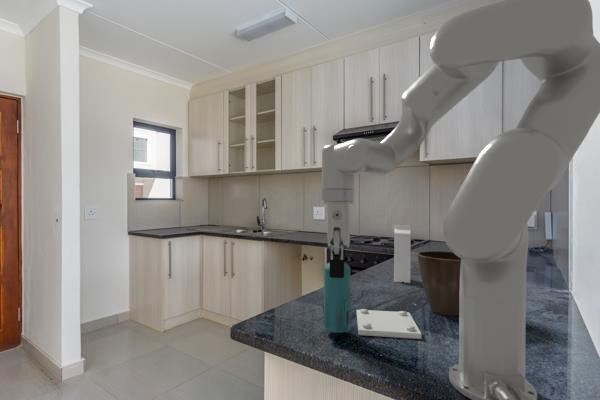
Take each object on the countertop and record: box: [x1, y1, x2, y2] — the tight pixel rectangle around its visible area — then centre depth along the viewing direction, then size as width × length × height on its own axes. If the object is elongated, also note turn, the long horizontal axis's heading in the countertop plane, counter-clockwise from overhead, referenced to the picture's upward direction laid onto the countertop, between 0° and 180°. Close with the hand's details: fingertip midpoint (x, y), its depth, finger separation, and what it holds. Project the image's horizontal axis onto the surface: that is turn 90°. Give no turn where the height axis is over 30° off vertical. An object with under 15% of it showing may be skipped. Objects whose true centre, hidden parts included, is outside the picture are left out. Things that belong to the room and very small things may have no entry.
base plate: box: [356, 308, 422, 340], centre depth 80 cm, size 14×14×2 cm
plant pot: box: [417, 250, 461, 317], centre depth 91 cm, size 15×15×16 cm
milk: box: [393, 223, 412, 284], centre depth 125 cm, size 6×6×22 cm
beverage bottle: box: [323, 248, 352, 334], centre depth 75 cm, size 6×7×20 cm
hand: (337, 273), depth 75 cm, fingers closed on beverage bottle, 6 cm apart
